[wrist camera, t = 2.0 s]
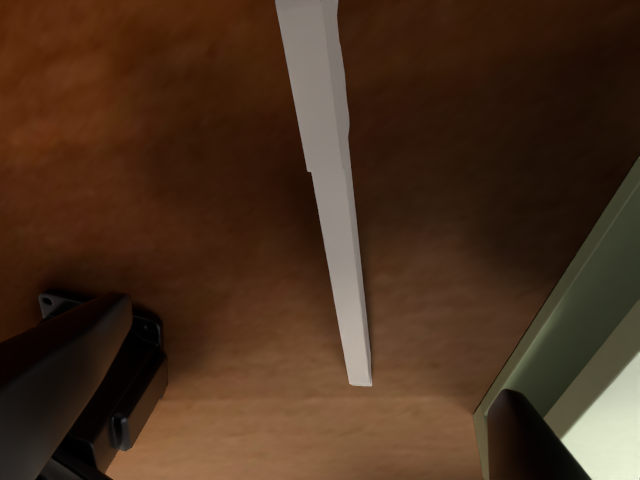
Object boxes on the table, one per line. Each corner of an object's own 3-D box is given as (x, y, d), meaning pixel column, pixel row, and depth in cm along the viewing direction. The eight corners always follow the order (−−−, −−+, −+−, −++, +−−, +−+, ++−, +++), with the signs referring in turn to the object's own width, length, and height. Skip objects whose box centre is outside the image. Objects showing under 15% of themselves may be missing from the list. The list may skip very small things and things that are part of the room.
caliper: (297, -137, 11) (209, -238, 6) (337, -144, 11) (282, -256, 6) (353, 377, 22) (338, 504, 16) (374, 379, 22) (366, 507, 16)
